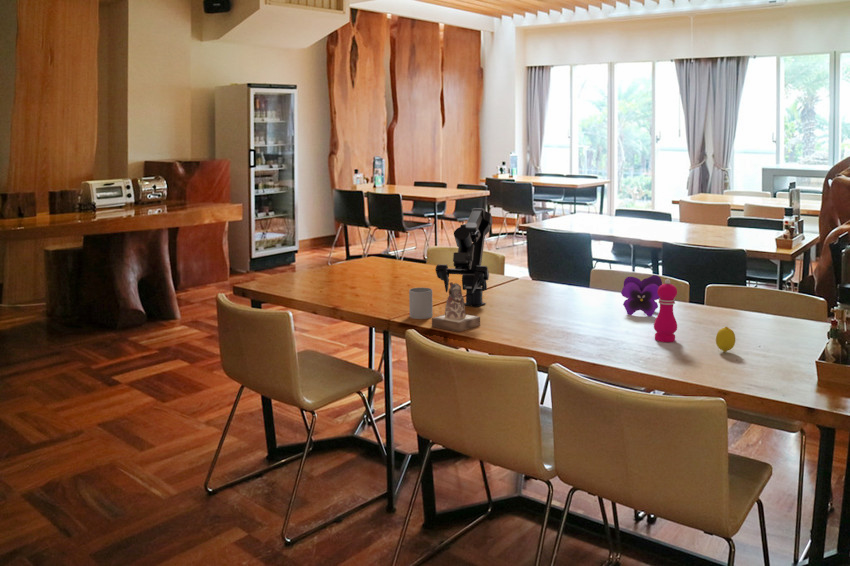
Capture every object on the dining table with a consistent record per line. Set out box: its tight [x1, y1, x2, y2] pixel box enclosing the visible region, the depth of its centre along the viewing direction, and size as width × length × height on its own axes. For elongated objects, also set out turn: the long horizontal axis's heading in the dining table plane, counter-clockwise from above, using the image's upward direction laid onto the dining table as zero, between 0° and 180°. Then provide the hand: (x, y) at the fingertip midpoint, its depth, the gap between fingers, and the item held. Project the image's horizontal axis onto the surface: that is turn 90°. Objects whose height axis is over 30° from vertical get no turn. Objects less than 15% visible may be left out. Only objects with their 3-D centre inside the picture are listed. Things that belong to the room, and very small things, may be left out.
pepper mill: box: [653, 278, 678, 343], centre depth 246 cm, size 7×7×20 cm
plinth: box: [431, 313, 481, 333], centre depth 269 cm, size 12×12×3 cm
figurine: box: [444, 281, 467, 319], centre depth 268 cm, size 7×7×12 cm
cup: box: [408, 287, 433, 320], centre depth 282 cm, size 8×8×10 cm
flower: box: [620, 274, 663, 317], centre depth 286 cm, size 15×15×14 cm
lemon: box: [715, 326, 736, 353], centre depth 233 cm, size 6×6×8 cm
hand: (459, 292), depth 272 cm, fingers open, 9 cm apart
